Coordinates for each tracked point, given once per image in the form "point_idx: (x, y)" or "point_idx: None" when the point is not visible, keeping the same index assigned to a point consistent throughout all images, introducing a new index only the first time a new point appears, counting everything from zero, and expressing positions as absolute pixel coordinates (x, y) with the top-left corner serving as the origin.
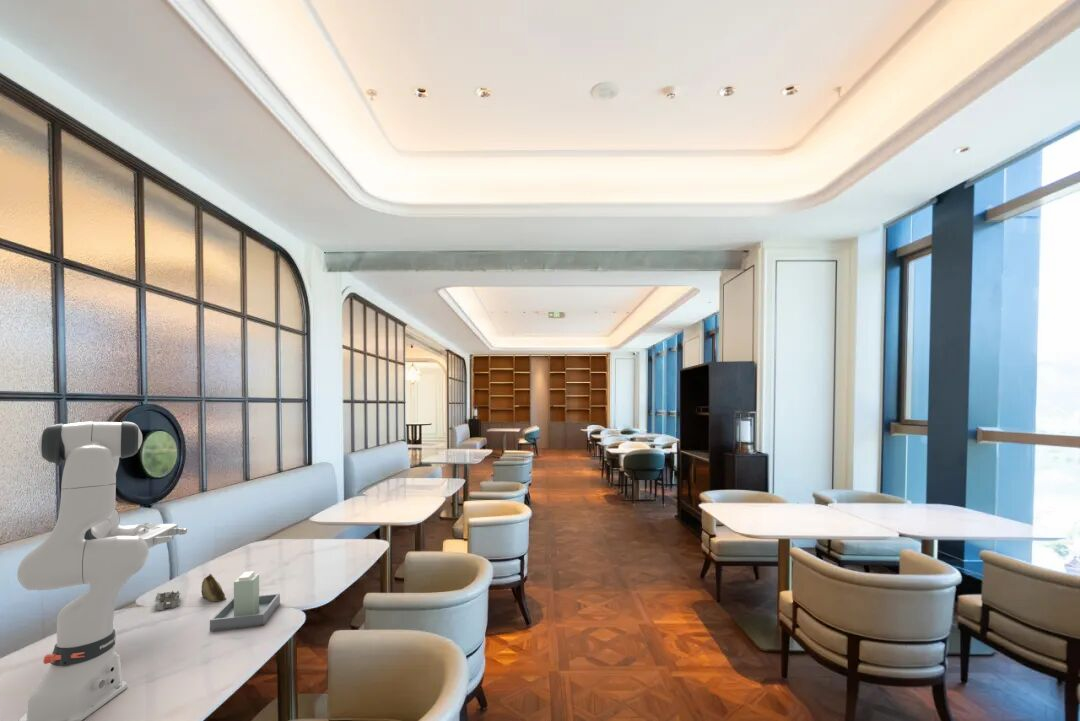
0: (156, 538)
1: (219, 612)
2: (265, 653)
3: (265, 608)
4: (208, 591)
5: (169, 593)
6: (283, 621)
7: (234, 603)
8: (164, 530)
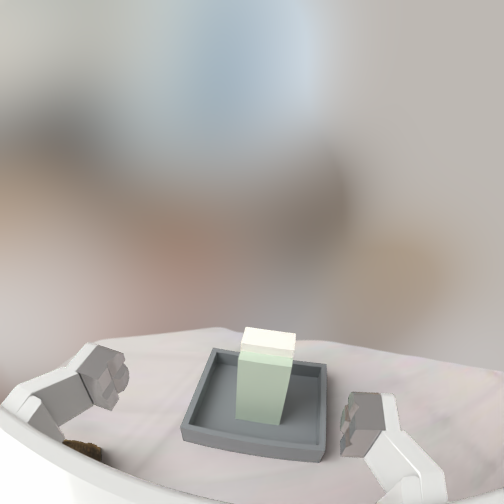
0: (440, 484)
1: (278, 442)
2: (423, 358)
3: None
4: None
5: None
6: (314, 354)
7: (283, 403)
8: (150, 486)
